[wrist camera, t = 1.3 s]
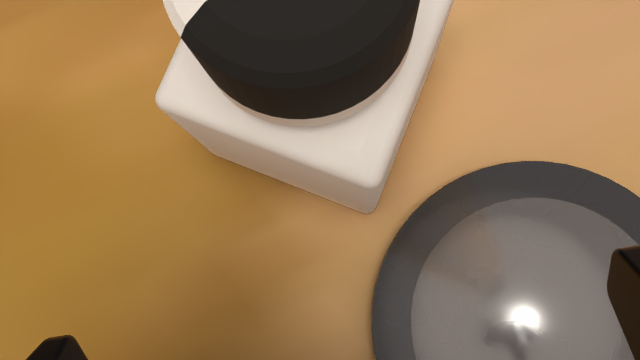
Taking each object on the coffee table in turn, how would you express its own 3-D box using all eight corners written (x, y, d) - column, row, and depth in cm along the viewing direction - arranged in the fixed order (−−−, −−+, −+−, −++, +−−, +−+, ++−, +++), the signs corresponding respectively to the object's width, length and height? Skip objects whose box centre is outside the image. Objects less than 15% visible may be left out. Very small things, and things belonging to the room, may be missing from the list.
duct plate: (749, 254, 22) (769, 253, 21) (618, 560, 21) (633, 576, 20) (455, 115, 24) (460, 107, 23) (316, 391, 23) (313, 396, 22)
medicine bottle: (435, 55, 25) (505, -153, 13) (372, 217, 24) (384, 155, 12) (275, -1, 25) (201, -245, 14) (208, 153, 24) (66, 34, 13)
